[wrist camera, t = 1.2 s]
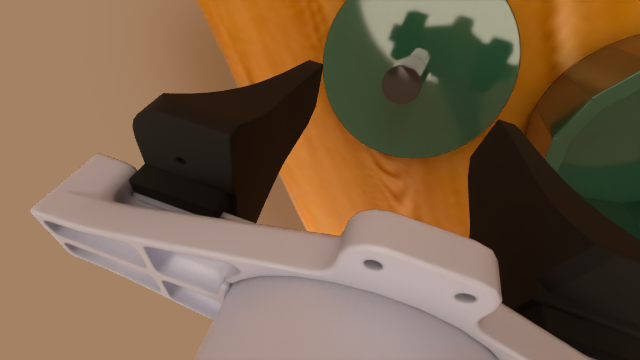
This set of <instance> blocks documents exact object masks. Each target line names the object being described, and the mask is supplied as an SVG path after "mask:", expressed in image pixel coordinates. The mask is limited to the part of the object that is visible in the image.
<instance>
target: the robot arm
mask: <svg viewBox="0 0 640 360" xmlns="http://www.w3.org/2000/svg"><path fill="white" fill-rule="evenodd" d="M323 65H324V64H321V63H317V62H314V61H311V60H308V61H306V62H304V63H302V64H300V65H298V66H296V67H294V68H292V69H290V70H288V71H286V72H284V73H282V74H279V75H277V76H274V77H272V78H270V79H267V80H265V81H262V82H259V83H256V84H253V85H249V86H245V87H241V88H236V89H231V90H225V91H219V92H209V93H194V94H169V93H163V94H162V95H160V96H159V97H158V98H157V99H155V100H154V101H153V102H152V103H151V104H149V105H148V106H147V107H146V108H144V109H143V110H142V111H141V112H140V113H138V114H137V115H136V117H135V118H134V120H133V131H134V135H135V138H136V141H137V143H138V146H139V149H140V152H141V154H142V157H143V159H144V162H145V164H144V165H143V166H142V167H141V168H140V169H139V170H138V171H137V170H136V168H134V167H133V166H132V165H130V164H128V163H126V162H123V161H120V160H118V159H115V158H112V157H109V156H106V155H103V154H99V153H97V154H96V155H95V156H94V157H92V158H91V159H90V160H89V161H88V162H87V163H85V164H84V165H83V166H82V167H80V168H79V169H78V170H77V171H76V172H74V173H73V174H72V175H71V176H70V177H69V178H67V179H66V180H65V181H64V182H62V183H61V184H60V185H59V186H58V187H57V188H55V189H54V190H53V191H52V192H50V193H49V194H48V195H47V196H46V197H44V198H43V199H42V200H41V201H40V202H38V203H37V204H36V205H35V206H34V207H32V208H31V209H30V212H31V214H32V215H33V216H34V217H35V218H36V219H37V220H38V221H39V222H40V223H41V224H42V225H43V226H44V227H45V228H46V229H47V230H48V231H49V232H50V233H51V235H52V236H53V237H54V238H55V239H56V240H57V241H58V242H59V243H60V244H61V245H62V246H63V247H64V248H65V249H66V250H67V251H68V252H69V253H70V254H71V255H73V256H76V257H79V258H81V259H83V260H86V261H88V262H91V263H93V264H96V265H98V266H100V267H103V268H105V269H107V270H110V271H112V272H114V273H116V274H119V275H121V276H123V277H125V278H127V279H129V280H131V281H134V282H136V283H138V284H140V285H142V286H144V287H146V288H148V289H150V290H152V291H155V292H156V293H158V294H160V295H162V296H164V297H166V298H169V299H171V300H173V301H175V302H177V303H179V304H181V305H183V306H185V307H187V308H189V309H191V310H193V311H195V312H197V313H199V314H201V315H203V316H205V317H208V318H210V319H211V320H213V323H212V325H211V327H210V328H209V330H208V332H207V334H206V336H205V338H204V340H203V342H202V344H201V346H200V348H199V350H198V352H197V354H196V355H195V357H194V359H193V360H640V240H639V239H637V238H636V237H634V236H633V235H631V234H630V233H628V232H627V231H625V230H624V229H622V228H621V227H620V226H618V225H617V224H615V223H614V222H613V221H611V220H610V219H609V218H607V217H606V216H605V215H603V214H602V213H601V212H599V211H598V210H597V209H596V208H594V207H593V206H592V205H591V204H589V203H588V202H587V201H586V200H585V199H584V198H583V197H581V196H580V195H579V194H578V193H577V192H576V191H575V190H574V189H573V188H571V187H570V186H569V185H568V184H567V183H566V182H565V181H564V180H563V179H562V177H561V176H560V175H559V174H558V173H557V172H556V171H555V170H554V169H553V168H552V167H551V166H550V165H549V163H548V162H547V161H546V160H545V159H544V158H543V156H542V155H541V154H540V153H539V152H538V150H537V149H536V148H535V147H534V146H533V144H532V143H531V142H530V141H529V140H528V138H527V137H526V136H525V135H524V134H523V133H522V132H521V130H520V129H519V128H518V127H517V126H515V125H514V124H511V123H508V122H505V121H502V120H498V121H497V123H496V124H495V125H494V126H493V128H492V129H491V130H490V132H489V133H488V134H487V136H486V137H485V138H484V140H483V141H482V142H481V144H480V145H479V146H478V148H477V149H476V150H475V152H474V153H473V154H472V156H471V158H470V164H469V172H468V192H469V211H470V236H469V238H467V237H464V236H461V235H458V234H456V233H453V232H450V231H447V230H444V229H441V228H438V227H435V226H432V225H429V224H427V223H424V222H421V221H418V220H415V219H412V218H409V217H406V216H403V215H400V214H397V213H395V212H390V211H384V210H378V209H373V210H368V211H363V212H358V213H356V214H355V215H354V216H353V217H352V218H351V219H350V220H349V221H348V223H347V225H346V228H345V230H344V232H343V233H342V235H341V236H336V235H330V234H323V233H316V232H309V231H302V230H296V229H289V228H282V227H275V226H269V225H261V224H256V222H257V220H258V217H259V215H260V213H261V211H262V208H263V206H264V204H265V201H266V199H267V197H268V194H269V193H270V190H271V188H272V186H273V184H274V182H275V180H276V177H277V175H278V173H279V171H280V169H281V167H282V165H283V163H284V162H285V160H286V158H287V156H288V155H289V153H290V152H291V150H292V149H293V147H294V145H295V144H296V142H297V141H298V139H299V138H300V136H301V134H302V133H303V131H304V130H305V128H306V126H307V125H308V123H309V120H310V118H311V116H312V114H313V111H314V109H315V107H316V102H317V97H318V92H319V86H320V81H321V76H322V71H323Z"/></svg>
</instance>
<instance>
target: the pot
mask: <svg viewBox="0 0 640 360" xmlns="http://www.w3.org/2000/svg"><path fill="white" fill-rule="evenodd" d="M526 137H527V138H528V140H529V141H530V142H531V143H532V144H533V146H534V147H535V148H536V149H537V150H538V152H539V153H540V154H541V155H542V156H543V158H544V159H545V160H546V161H547V162H548V163H549V165H550V166H551V167H552V168H553V169H554V170H555V171H556V172H557V173H558V174H559V175H560V176H561V177H562V179H563V180H564V181H565V182H566V183H567V184H568V185H569V186H570V187H571V188H573V189H574V190H575V191H576V192H577V193H578V194H579V195H580V196H581V197H583V198H584V199H585V200H586V201H587V202H588V203H589V204H591V205H592V206H593V207H594V208H596V209H597V210H598V211H599V212H601V213H602V214H603V215H605V216H606V217H607V218H609V219H610V220H611V221H613V222H614V223H615V224H617V225H618V226H620V227H621V228H622V229H624V230H625V231H627V232H628V233H630V234H631V235H633V236H634V237H636V238H637V239H639V240H640V34H639V35H635V36H632V37H629V38H626V39H623V40H620V41H618V42H615V43H613V44H611V45H608V46H606V47H604V48H602V49H600V50H598V51H596V52H594V53H592V54H591V55H589V56H587V57H585V58H584V59H582V60H581V61H579V62H578V63H576V64H575V65H574V66H572V67H571V68H569V69H568V70H567V71H566V72H565V73H564V74H562V75H561V76H560V77H559V78H558V79H557V80H556V81H555V82H554V83H553V84H552V85H551V86H550V87H549V88H548V89H547V91H546V92H545V93H544V95H543V96H542V97H541V99H540V100H539V102H538V104H537V105H536V107H535V109H534V111H533V113H532V115H531V118H530V120H529V124H528V128H527V133H526Z"/></svg>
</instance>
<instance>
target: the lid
mask: <svg viewBox="0 0 640 360" xmlns="http://www.w3.org/2000/svg"><path fill="white" fill-rule="evenodd" d="M520 53H521V46H520V35H519V30H518V26H517V22H516V19H515V17H514V14H513V12H512V9H511V7H510V5H509V4H508V2H507V0H346V1H345V3H344V4H343V5H342V7H341V8H340V10H339V11H338V13H337V15H336V17H335V19H334V21H333V23H332V25H331V28H330V30H329V33H328V36H327V40H326V43H325V48H324V55H323V64H324V65H323V77H324V84H325V89H326V93H327V96H328V99H329V102H330V104H331V106H332V108H333V111H334V112H335V114H336V116H337V117H338V119H339V121H340V122H341V123H342V124H343V126H344V127H345V128H346V129H347V130H348V131H349V132H350V133H351V134H352V135H353V136H354V137H355V138H356V139H358V140H359V141H360V142H362V143H363V144H365V145H367V146H368V147H370V148H372V149H374V150H376V151H378V152H381V153H384V154H387V155H390V156H395V157H401V158H426V157H433V156H437V155H441V154H444V153H447V152H450V151H452V150H455V149H457V148H459V147H461V146H463V145H465V144H467V143H468V142H470V141H471V140H473V139H474V138H476V137H477V136H478V135H480V134H481V133H482V132H483V131H484V130H485V129H486V128H487V127H489V125H490V124H491V123H492V122H493V121H494V120H495V119H496V118H497V116H498V115H499V113H500V112H501V111H502V109H503V108H504V106H505V105H506V103H507V101H508V99H509V97H510V95H511V93H512V91H513V88H514V85H515V82H516V79H517V75H518V70H519V66H520Z"/></svg>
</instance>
